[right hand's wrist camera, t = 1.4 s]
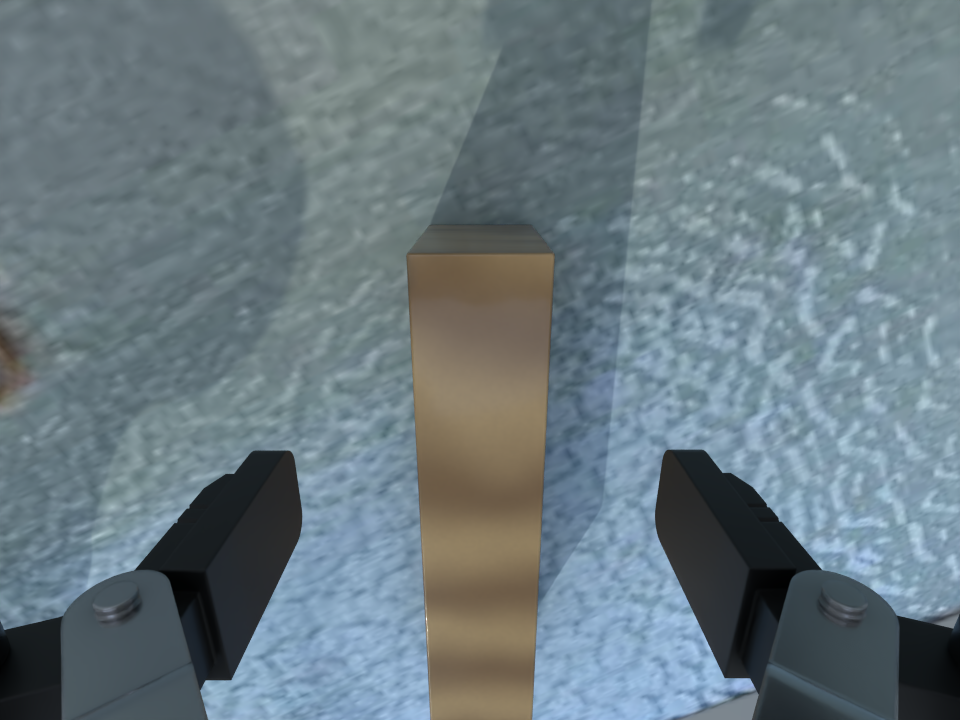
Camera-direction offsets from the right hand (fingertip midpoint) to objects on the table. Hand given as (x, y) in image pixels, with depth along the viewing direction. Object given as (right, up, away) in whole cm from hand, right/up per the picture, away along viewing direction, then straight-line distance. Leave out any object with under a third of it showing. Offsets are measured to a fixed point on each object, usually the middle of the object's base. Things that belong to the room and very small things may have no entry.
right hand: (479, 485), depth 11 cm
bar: (0, -3, +19) cm, 20 cm away
